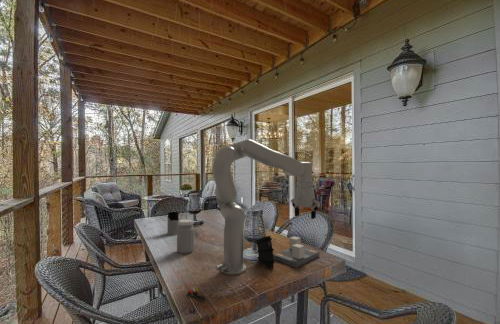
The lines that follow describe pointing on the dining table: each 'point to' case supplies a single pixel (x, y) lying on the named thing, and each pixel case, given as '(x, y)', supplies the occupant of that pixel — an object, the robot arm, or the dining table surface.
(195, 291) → the composite cable
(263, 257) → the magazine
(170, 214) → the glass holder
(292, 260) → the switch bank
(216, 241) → the dining table surface
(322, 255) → the dining table surface
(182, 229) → the jar
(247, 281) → the dining table surface
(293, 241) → the beige cylinder
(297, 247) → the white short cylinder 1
